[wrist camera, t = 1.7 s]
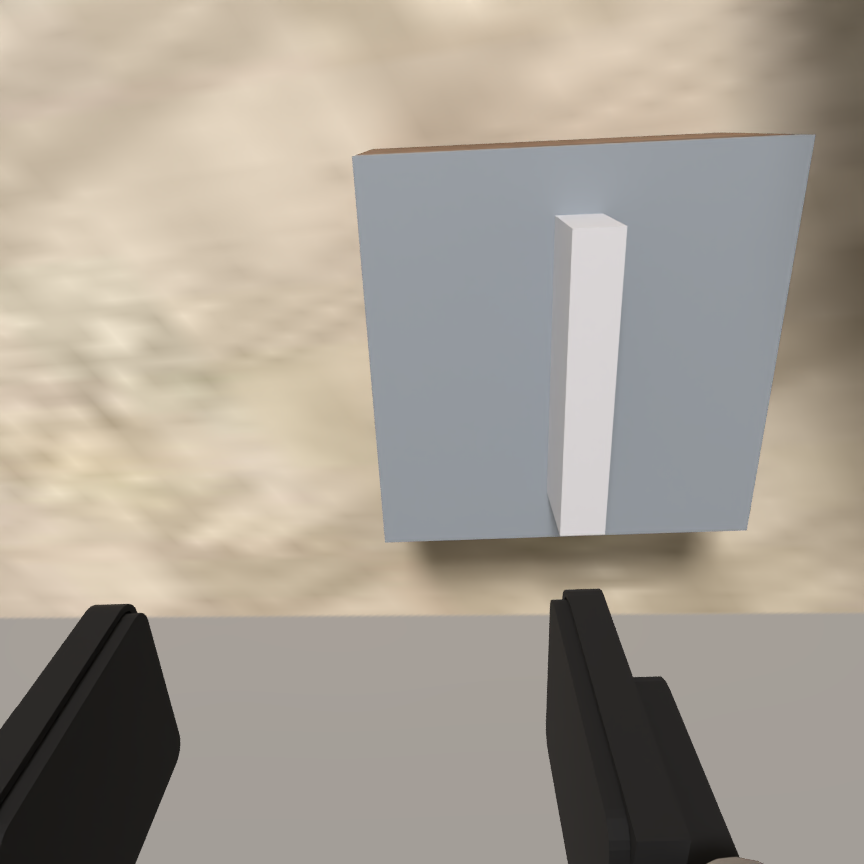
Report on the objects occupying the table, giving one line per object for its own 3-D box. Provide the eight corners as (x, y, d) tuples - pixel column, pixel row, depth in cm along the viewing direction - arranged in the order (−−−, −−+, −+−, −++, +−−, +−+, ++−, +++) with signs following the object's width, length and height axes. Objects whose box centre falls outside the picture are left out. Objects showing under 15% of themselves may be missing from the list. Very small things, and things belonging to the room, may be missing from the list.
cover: (355, 155, 22) (339, 161, 18) (799, 134, 21) (874, 136, 18) (386, 528, 27) (379, 590, 24) (735, 516, 27) (782, 577, 23)
